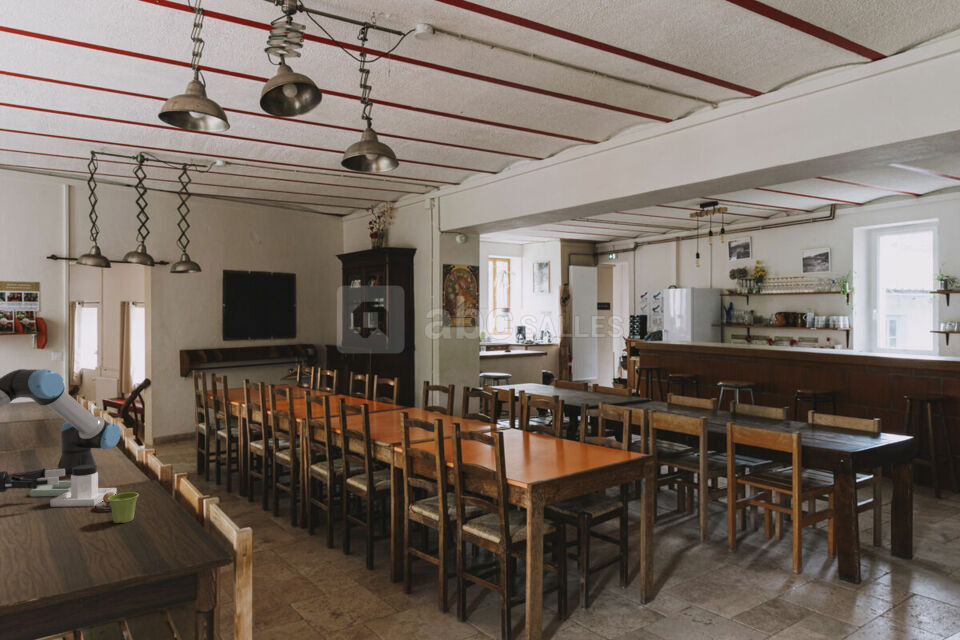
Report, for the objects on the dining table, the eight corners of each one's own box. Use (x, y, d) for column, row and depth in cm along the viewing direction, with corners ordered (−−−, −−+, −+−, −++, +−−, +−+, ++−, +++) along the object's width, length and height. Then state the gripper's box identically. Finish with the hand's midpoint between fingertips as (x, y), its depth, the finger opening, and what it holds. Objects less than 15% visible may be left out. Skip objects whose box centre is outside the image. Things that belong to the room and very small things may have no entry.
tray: (75, 494, 251) (75, 488, 251) (116, 493, 252) (116, 487, 252) (50, 506, 235) (50, 499, 235) (94, 505, 236) (94, 499, 236)
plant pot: (117, 527, 212) (117, 501, 212) (102, 522, 217) (102, 497, 217) (144, 519, 220) (144, 495, 220) (129, 514, 225) (129, 491, 225)
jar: (70, 501, 238) (70, 470, 237) (71, 496, 244) (71, 466, 244) (98, 498, 242) (98, 467, 242) (97, 493, 249) (97, 463, 249)
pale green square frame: (52, 486, 262) (52, 480, 262) (89, 486, 263) (89, 480, 263) (30, 496, 248) (30, 490, 248) (68, 495, 249) (68, 489, 249)
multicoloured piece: (124, 512, 229) (124, 491, 229) (89, 513, 227) (89, 493, 227) (135, 502, 241) (135, 483, 241) (102, 504, 239) (102, 484, 239)
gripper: (2, 484, 242) (67, 478, 251) (-17, 501, 220) (55, 494, 229) (2, 465, 242) (67, 459, 251) (-17, 480, 220) (55, 474, 229)
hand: (61, 476), depth 240 cm, fingers open, 13 cm apart
